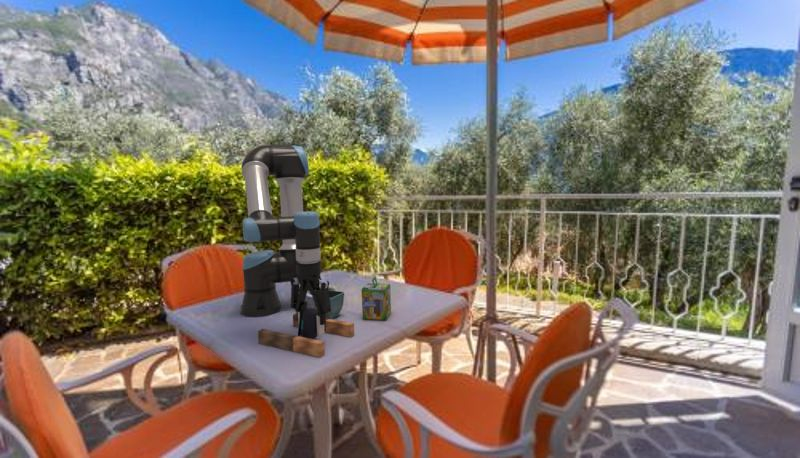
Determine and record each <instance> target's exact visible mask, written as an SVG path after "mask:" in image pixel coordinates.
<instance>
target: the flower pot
mask: <svg viewBox="0 0 800 458" xmlns="http://www.w3.org/2000/svg"><path fill="white" fill-rule="evenodd" d="M328 290H329V298H330V306H331V312H329V313H327V314H326V319H332V320H333V319H334V318H336V317H338V316H339V314H340V312H341V311H342V309H343V306H344V302H345V301H344V299H345V291H340V290H332V289H328ZM320 293H321V292H320ZM311 297H312V303H313V308H315V309H317V308H316V304H315V301H314V298H313V295H311Z"/></svg>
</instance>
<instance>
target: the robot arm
mask: <svg viewBox="0 0 800 458" xmlns="http://www.w3.org/2000/svg"><path fill="white" fill-rule="evenodd" d="M309 166H310V165H309V160H308V156H307V152H306V149H305V148H304V147H303V146H299V145H293V144H292V145H287V144H286V145H284V144H283V145H280V144H279V145H275V144H274V145H273V144H272V145H270V144H263V145H259V146H256V147H255V148H253V149H251V150H249V152H248V153H247V154H246V155H245V157H244V158H243V160H242V162H241V168H240V169H241V175H242V177H243V178H244V181H245V192H246V203H247V215H248V217H246V218H243V219H242V231H243V232H242V234H243V240H244V241H245V242H254V243H255V242H257V243H260V242H267V241H269V242H271V241H282V245H281V246H280V247H279V251H278V252H279V253H277V252H276V253H275V252H274V250H272V249H265V250H257V251H253V252H251V253H248V254H246V255H244V257H243V258H242V273H243V274H242V275H243V290H244V294H243V297H242V303H241V306H240V314H241V315H242V316H245V317H253V318H254V317H264V316H266V317H267V316H270V315H273V314H276V313H278V312H280V311H281V310H282V302H281V300H280V297H279V295H278V291H277V287H276V286H277V285H276V284H280V283H288V282H290V286H291V287H290V309H292V310H295V314H296V315H297V321H298V327H297V328H299V319H300V310H301V306H302V305H303V304H304V303H305V302H306V298H307V294H308V293H309V292H310V294H311V296H312V295H313V297H312V299H313V298H314V301H315V304H316V308H317V311H318V315H316V317H317V336H318V337H320V336H321V335H323V334H325V333H326V332H324V324H325V323H326V314H327V313H329V312H331V306H330V298H329V290H330V289H329V288H330V287H329V286H330V281H328V280H326V281H325V280H322V278H321V273H322V262H321V259H322V258H321V257H322V256H321V255H322V254H321V241H320V240H321V239H320V238H321V235H320V234H321V233H320V225H321V222H320V215H319V213H318V212H317V211H304V202H303V201H304V200H303V185H302V184H303V183H304V181H305V180H306V176H308V175H309V172H310V169H309V168H310V167H309ZM269 176H274V180H275V182H276V183H278V185H279V198H280V215H281V216H273V212H272V211H273V209H272V203H271V197H270V190H269V189H270V188H269V183H268V177H269ZM320 292H321V293H320Z"/></svg>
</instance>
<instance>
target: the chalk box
mask: <svg viewBox="0 0 800 458" xmlns="http://www.w3.org/2000/svg"><path fill="white" fill-rule="evenodd" d="M371 280H372V282H370V283H367V284H366V285H364V286H363V287H362V288H361V304H362V306H361V307H362V311H361V312H362V320H372V321H373V320H375V321H387V320H388V318H389V317H390V316H391V313H392V306H391V305H392V303H391V300H392V299H391V284H389V283H379V282H378V281H377V277H376V275H375V276H373V277H372V279H371Z"/></svg>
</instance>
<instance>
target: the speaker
mask: <svg viewBox="0 0 800 458" xmlns="http://www.w3.org/2000/svg"><path fill="white" fill-rule="evenodd" d="M307 307H308V300H305V303H304V304H303V305H302V306H301V310H300V319H299V327H297V328H298V331H297V336H300V337H305V338H309V339H315V338H317V337H319V336H317V317H316V315H318V311H317V309H315V308H314V307H313V308H312V307H309V308H307Z"/></svg>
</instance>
